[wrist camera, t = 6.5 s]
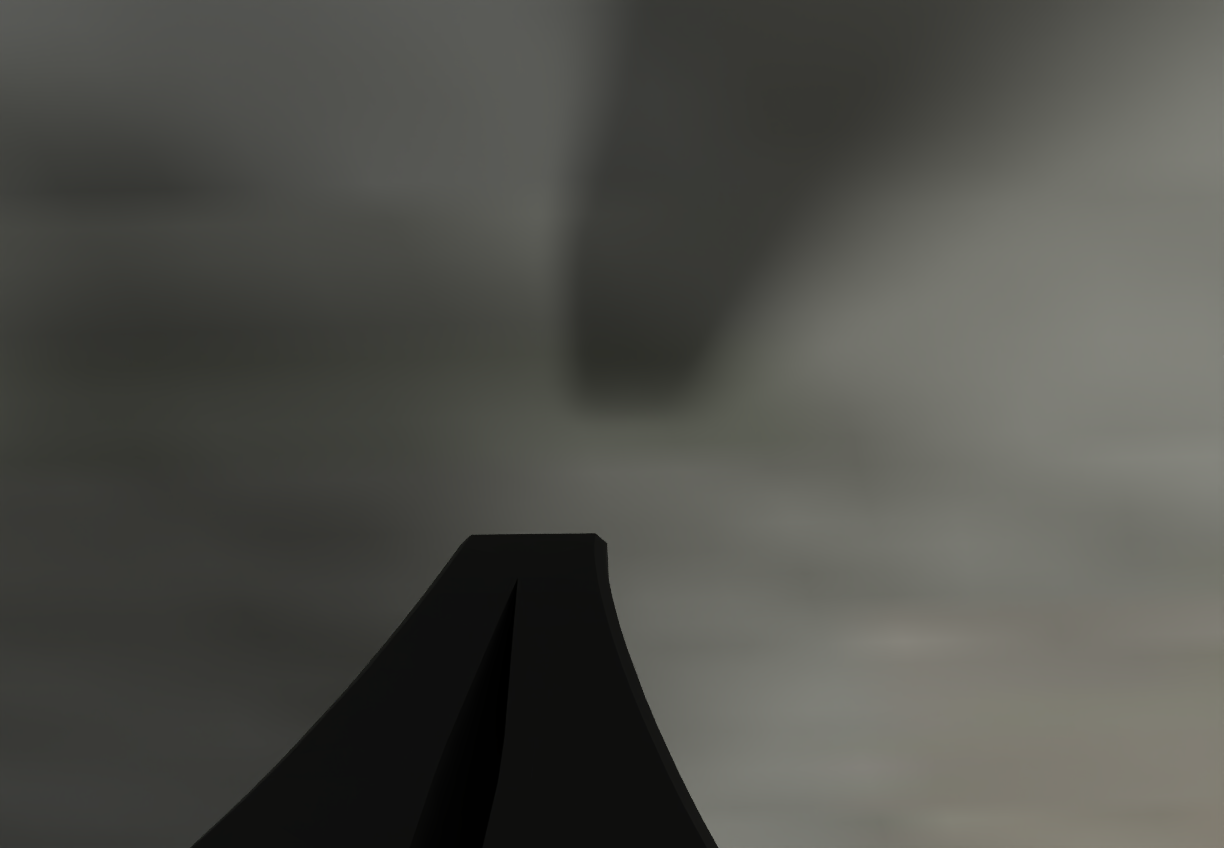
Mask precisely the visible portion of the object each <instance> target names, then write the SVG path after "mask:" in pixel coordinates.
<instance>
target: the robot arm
mask: <svg viewBox="0 0 1224 848" xmlns="http://www.w3.org/2000/svg"><path fill="white" fill-rule="evenodd" d="M191 848H718V846H717V845H716V843H715V841H714V839H713V837H712V836H711V834H710V832H709V830H708V828H707V827H706V825H705V823H704V821H703V819H702V817H701V815H700V814H699V812H698V810H697V808H696V806H695V804H694V802H693V800H692V798H691V796H690V794H689V792H688V790H687V788H686V786H685V784H684V782H683V780H682V778H681V776H680V774H679V772H678V770H677V768H676V766H675V763H674V761H673V759H672V757H671V755H670V753H669V750H668V748H667V746H666V744H665V742H664V740H663V737H662V735H661V733H660V731H659V729H658V726H657V724H656V722H655V719H654V717H653V715H652V712H651V710H650V707H649V705H648V703H647V700H646V698H645V695H644V693H643V690H642V687H641V685H640V682H639V679H638V676H637V674H636V671H635V668H634V666H633V663H632V660H631V658H630V655H629V652H628V649H627V647H626V644H625V640H624V637H623V634H622V631H621V628H620V625H619V621H618V617H617V613H616V610H615V606H614V602H613V598H612V594H611V589H610V584H609V575H608V554H607V543H606V542H605V541H604V540H602V539H601V538H600V537H599V536H598V535H597V534H595V533H586V534H497V535H471V536H469V537H468V538H467V539H466V540H465V541H464V542H463V543H462V544H461V545H460V547H459V548H458V549H457V551H456V552H455V553H454V555H453V556H452V558H451V559H450V560H449V562H448V563H447V564H446V566H445V567H444V568H443V570H442V571H441V572H440V574H439V575H438V576H437V578H436V579H435V580H434V582H433V583H432V584H431V586H430V587H429V588H428V590H427V591H426V592H425V594H424V595H423V596H422V598H421V599H420V600H419V602H418V603H417V604H416V605H415V607H414V608H413V609H412V610H411V612H410V613H409V614H408V616H407V617H406V618H405V619H404V621H403V622H402V623H401V625H400V626H399V627H398V628H397V630H396V631H395V632H394V633H393V634H392V636H391V637H390V638H389V639H388V640H387V642H386V643H385V644H384V645H383V646H382V648H381V649H380V650H379V651H378V652H377V654H376V655H375V656H374V657H373V658H372V660H371V661H370V662H369V663H368V664H367V666H366V667H365V668H364V669H363V670H362V672H361V673H360V674H359V675H358V676H357V678H356V679H355V680H354V681H353V682H352V683H351V685H350V686H349V687H348V688H347V689H346V690H345V692H344V693H343V694H342V695H341V696H340V697H339V698H338V699H337V700H336V702H335V703H334V704H333V705H332V706H331V707H330V708H329V709H328V710H327V711H326V712H325V713H324V714H323V716H322V717H321V718H320V719H319V720H318V721H317V722H316V723H315V724H314V725H313V726H312V727H311V729H310V730H309V731H308V732H307V733H306V734H305V735H304V736H303V737H302V738H301V739H300V740H299V741H298V743H297V744H296V745H295V746H294V747H293V748H292V749H291V750H290V751H289V752H288V753H287V754H286V756H285V757H284V758H283V759H282V760H281V761H280V762H279V763H278V764H277V765H276V766H275V767H274V768H273V769H272V770H271V771H270V772H269V773H268V774H267V775H266V776H265V777H264V778H263V779H262V780H261V781H260V782H259V783H258V784H257V785H256V786H255V787H254V788H253V789H252V790H251V791H250V792H249V793H248V794H247V795H246V796H245V797H244V798H243V799H242V800H241V801H240V802H239V803H238V804H237V805H236V806H234V807H233V808H232V809H231V810H230V811H229V812H228V813H227V814H226V815H225V816H224V817H223V818H222V819H221V820H220V821H219V822H218V823H216V824H215V825H214V826H213V827H212V828H211V829H210V830H209V831H208V832H207V833H206V834H205V835H203V836H202V837H201V838H200V839H199V840H198V841H197V842H196V843H195V844H194V845H193V846H192V847H191Z"/></svg>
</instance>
